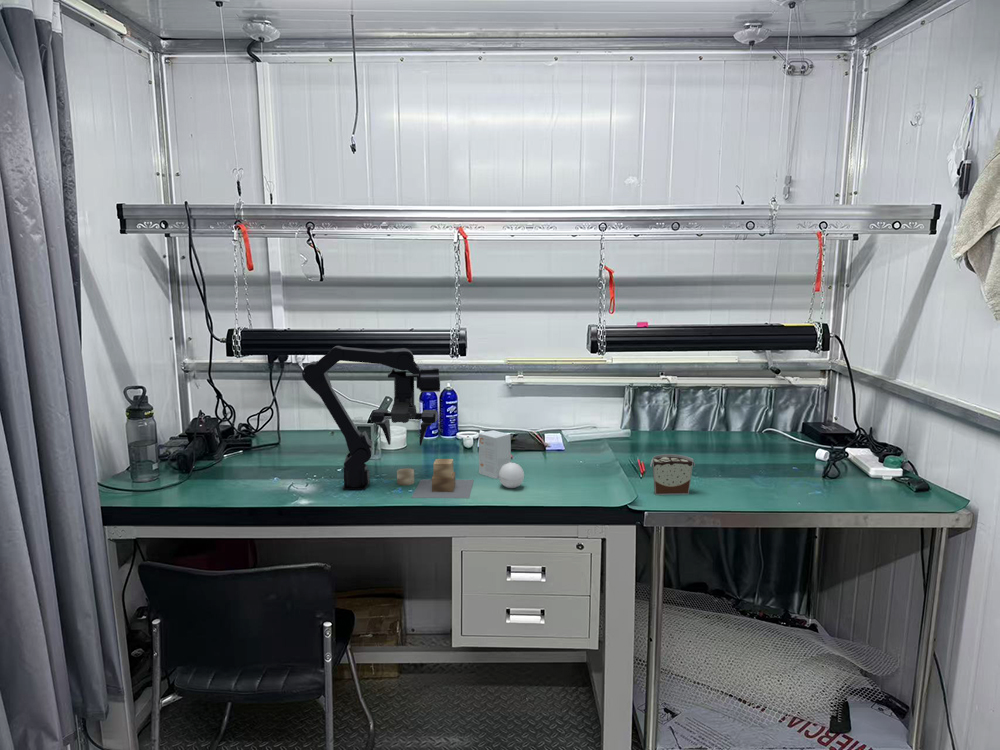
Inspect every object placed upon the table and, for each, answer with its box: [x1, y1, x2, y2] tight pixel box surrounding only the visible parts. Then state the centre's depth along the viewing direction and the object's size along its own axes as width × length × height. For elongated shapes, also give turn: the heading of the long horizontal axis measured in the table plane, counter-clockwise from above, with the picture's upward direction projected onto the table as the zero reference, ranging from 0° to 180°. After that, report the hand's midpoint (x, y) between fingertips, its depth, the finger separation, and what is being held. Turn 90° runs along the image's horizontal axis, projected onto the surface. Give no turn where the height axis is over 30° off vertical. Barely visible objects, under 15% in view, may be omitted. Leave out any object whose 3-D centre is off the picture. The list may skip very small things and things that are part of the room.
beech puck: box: [396, 467, 415, 486], centre depth 187 cm, size 5×5×4 cm
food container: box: [650, 453, 696, 496], centre depth 178 cm, size 12×6×10 cm, turn 91°
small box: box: [478, 429, 512, 480], centre depth 194 cm, size 8×6×13 cm
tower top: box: [432, 458, 454, 478], centre depth 181 cm, size 5×5×4 cm
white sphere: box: [493, 462, 525, 489], centre depth 182 cm, size 10×7×7 cm
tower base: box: [431, 471, 456, 492], centre depth 181 cm, size 6×6×4 cm
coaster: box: [411, 478, 475, 499], centre depth 182 cm, size 16×16×1 cm
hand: (405, 444), depth 185 cm, fingers open, 9 cm apart
